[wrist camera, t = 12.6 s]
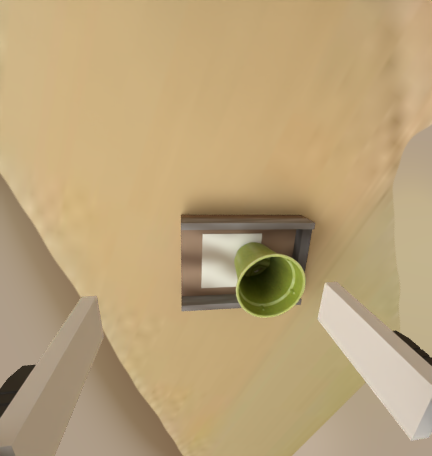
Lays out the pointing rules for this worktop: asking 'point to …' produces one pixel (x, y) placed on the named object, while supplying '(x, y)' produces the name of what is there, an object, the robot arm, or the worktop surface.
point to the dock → (232, 252)
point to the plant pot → (267, 281)
